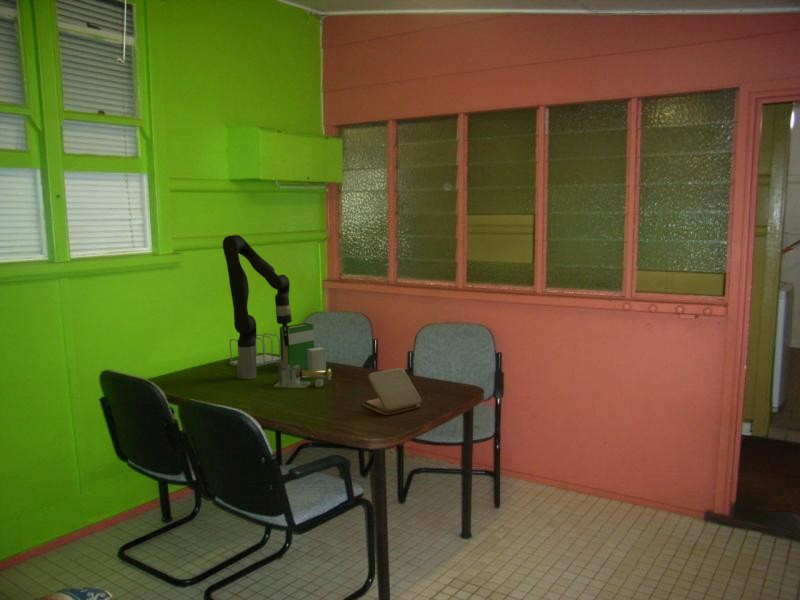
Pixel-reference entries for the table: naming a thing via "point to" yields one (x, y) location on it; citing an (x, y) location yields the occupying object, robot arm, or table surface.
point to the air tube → (315, 373)
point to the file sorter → (263, 358)
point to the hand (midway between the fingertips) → (286, 344)
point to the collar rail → (286, 379)
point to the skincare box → (316, 359)
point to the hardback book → (297, 345)
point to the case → (392, 392)
